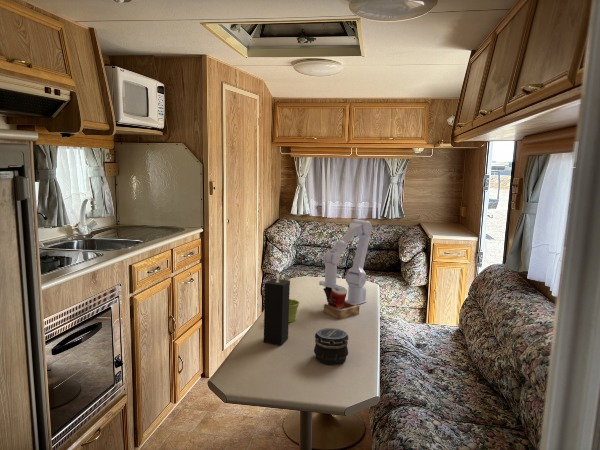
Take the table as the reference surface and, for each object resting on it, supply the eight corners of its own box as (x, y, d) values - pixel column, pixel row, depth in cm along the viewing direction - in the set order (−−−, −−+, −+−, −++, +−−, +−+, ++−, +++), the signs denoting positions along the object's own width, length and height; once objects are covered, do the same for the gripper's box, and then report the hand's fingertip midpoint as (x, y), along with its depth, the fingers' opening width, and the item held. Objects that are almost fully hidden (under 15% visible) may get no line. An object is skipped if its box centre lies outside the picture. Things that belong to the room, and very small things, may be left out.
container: (313, 350, 169) (314, 326, 168) (346, 352, 169) (347, 327, 167) (313, 365, 156) (314, 339, 155) (349, 367, 156) (350, 340, 155)
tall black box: (288, 338, 180) (290, 272, 176) (281, 346, 172) (283, 277, 169) (270, 336, 182) (272, 270, 178) (263, 342, 175) (264, 274, 171)
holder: (342, 307, 222) (342, 300, 222) (359, 314, 213) (359, 306, 213) (323, 312, 214) (323, 304, 213) (340, 319, 205) (340, 311, 205)
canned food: (342, 306, 220) (348, 288, 217) (341, 314, 213) (346, 295, 209) (328, 302, 221) (333, 283, 217) (326, 310, 214) (331, 291, 210)
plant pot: (303, 320, 202) (303, 302, 201) (288, 325, 195) (289, 306, 194) (288, 315, 208) (289, 297, 207) (274, 320, 201) (274, 301, 200)
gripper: (315, 273, 221) (314, 299, 223) (335, 280, 210) (333, 307, 212) (325, 272, 225) (324, 297, 227) (345, 278, 214) (344, 304, 216)
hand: (329, 302), depth 220 cm, fingers closed
